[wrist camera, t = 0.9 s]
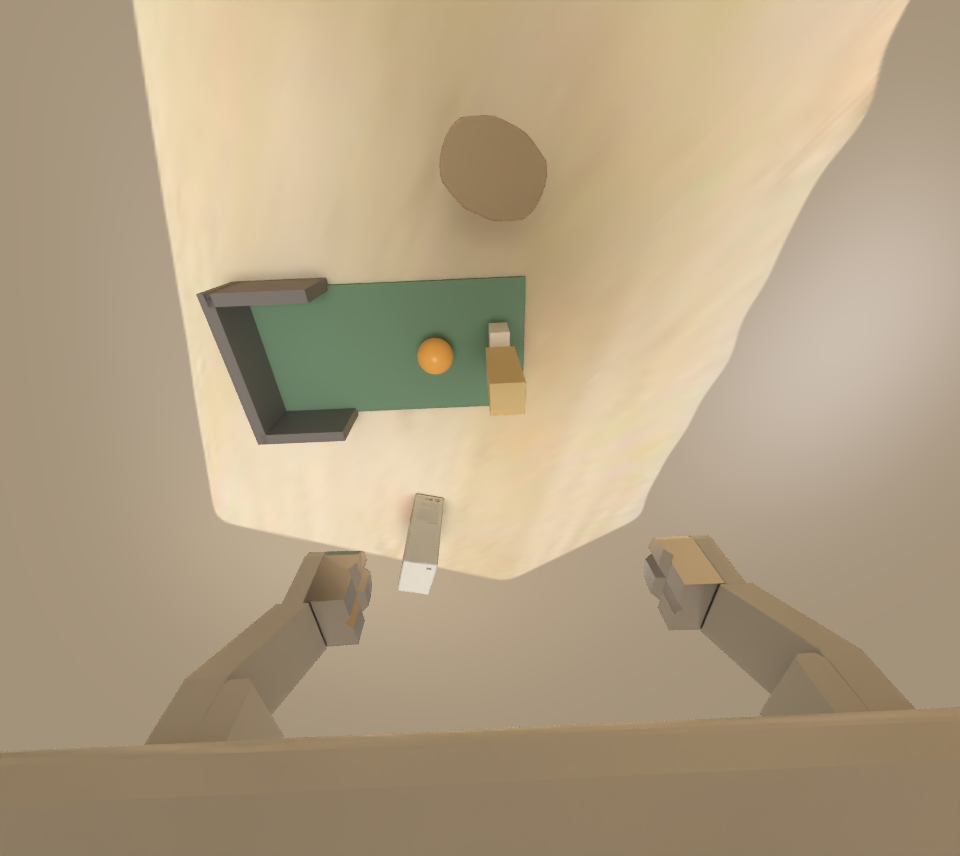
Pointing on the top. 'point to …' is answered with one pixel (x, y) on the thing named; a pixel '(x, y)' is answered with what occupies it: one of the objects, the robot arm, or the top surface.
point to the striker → (504, 373)
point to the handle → (492, 168)
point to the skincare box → (422, 545)
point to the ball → (435, 356)
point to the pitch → (388, 343)
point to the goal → (267, 361)
